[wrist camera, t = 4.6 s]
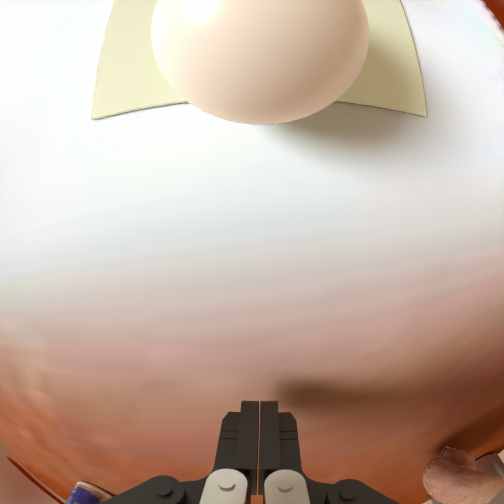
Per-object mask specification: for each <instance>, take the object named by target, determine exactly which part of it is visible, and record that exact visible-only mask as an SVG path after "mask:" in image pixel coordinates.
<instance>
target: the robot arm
mask: <svg viewBox="0 0 504 504" xmlns="http://www.w3.org/2000/svg"><path fill="white" fill-rule="evenodd" d="M258 439H259V401H242V403H241V412H228V414H227V415H226V416H225V417H224V419H223V420H222V425H221V431H220V436H219V442H218V448H217V453H216V459H215V464H214V468H213V470H212V472H211V473H210V474H209V475H208V476H206V477H205V478H203V479H200V480H196V481H188V482H179V481H178V480H177V479H175V478H173V477H170V476H156V477H153V478H151V479H149V480H147V481H145V482H144V483H142V484H140V485H138V486H136V487H134V488H132V489H130V490H128V491H125V492H123V493H121V494H119V495H117V496H115V497H112V498H110V499H108V500H106V501H103V502H101V503H98V504H251V495H256V492H257V467H258ZM475 463H476V471H479V472H493V473H498V474H500V475H502V476H503V477H504V463H503V462H502V460H501V459H500V457H499V456H498V454H497V453H496V452H495V453H494V454H492V455H491V454H488V455H485V456H483V457H481V458H480V459H478V460H476V461H475ZM258 495H263V504H399V503H398V502H396V501H394V500H392V499H390V498H388V497H386V496H384V495H383V494H381V493H379V492H377V491H376V490H374V489H372V488H370V487H369V486H367V485H365V484H364V483H362V482H360V481H358V480H354V479H345V480H341V481H339V482H337V483H335V484H327V483H320V482H316V481H313V480H311V479H309V478H308V477H307V476H306V475H305V474H304V473H303V471H302V468H301V459H300V450H299V440H298V432H297V423H296V420H295V418H294V417H293V415H292V414H291V413H290V412H282V413H278V401H261V403H260V440H259V473H258ZM430 499H431V501H432V503H433V504H444V503H442V502H439V501H436V500H435V499H434V498H433V497H432V496H431V497H430ZM488 504H504V486H503V488H502V489H501V491H500V492H499V493H498V494H497V496H495V497H494V498H493V499H492V500H491V501H490V503H488Z"/></svg>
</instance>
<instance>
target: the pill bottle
mask: <svg viewBox="0 0 504 504" xmlns="http://www.w3.org/2000/svg"><path fill="white" fill-rule="evenodd" d="M112 497H113V496H111V495H110V494H108V493H107V492H105V491H103V490H102V489H100V488H98V487H96V486H94V485H91V484H89V483H86V482H78V483H77V484H76V486H75V488H74V489H73V491H72V493H71V495H70V496H69V498H68V500H67V502H66V504H98V503H101V502H103V501H106V500H108V499H110V498H112Z"/></svg>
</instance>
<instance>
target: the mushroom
mask: <svg viewBox="0 0 504 504" xmlns="http://www.w3.org/2000/svg"><path fill="white" fill-rule="evenodd" d="M422 481H423V485H424V486H425V489H426V491H427V492H428V493H429V494H430V495H431V496H432V497H433V498H434V499H435V500H436V501H439V502H442V503H444V504H488V503H490V501H491V500H492V499H493V498H494V497H495V496H497V494H498V493H499V492H500V491H501V489H502V488H503V486H504V477H503V476H502V475H500V474H498V473H493V472H479V471H476V463H475V459H474V457H473V455H472V454H469V453H467V452H466V451H464V450H462V449H456V448H450V447H448V446H445V447H444V448H443V449H442V451H441V453H440V456H439V458H434V459H433V460H431V461H430V462H429V463H428V464H427V465H426V467H425V468H424V471H423V475H422Z"/></svg>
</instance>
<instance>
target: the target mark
mask: <svg viewBox="0 0 504 504" xmlns="http://www.w3.org/2000/svg"><path fill="white" fill-rule="evenodd" d="M361 1H362V3H363V6H364V8H365V11H366V14H367V19H368V24H369V46H368V51H367V56H366V59H365V62H364V64H363V67H362V69H361V71H360V73H359V75H358V76H357V78H356V79H355V81H354V82H353V83H352V85H351V86H350V88H349V89H348V90H346V91H345V92H344V93H343V94H342V95H341V96H340V97H339V98H338V99H337V100H336V101H338V102H347V103H355V104H362V105H369V106H375V107H381V108H387V109H392V110H397V111H402V112H407V113H411V114H415V115H420V116H424V117H426V116H427V109H426V102H425V95H424V89H423V83H422V78H421V73H420V68H419V64H418V59H417V55H416V51H415V47H414V43H413V39H412V36H411V32H410V29H409V26H408V23H407V20H406V16H405V14H404V11H403V8H402V5H401V2H400V0H361ZM157 2H158V0H115V2H114V5H113V8H112V11H111V15H110V18H109V22H108V25H107V29H106V33H105V37H104V41H103V46H102V50H101V55H100V60H99V65H98V71H97V77H96V84H95V91H94V98H93V107H92V117H91V119H92V120H96V119H100V118H104V117H108V116H112V115H117V114H121V113H126V112H130V111H135V110H141V109H146V108H152V107H158V106H164V105H171V104H178V103H186V102H188V101H187V100H186V99H184V98H183V97H182V96H181V95H180V94H179V93H178V92H177V91H176V90H175V89H174V88H173V87H172V86H171V85H170V84H169V82H168V81H167V80H166V78H165V77H164V75H163V74H162V72H161V70H160V68H159V66H158V64H157V61H156V59H155V56H154V52H153V48H152V41H151V25H152V18H153V13H154V10H155V7H156V5H157Z"/></svg>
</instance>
